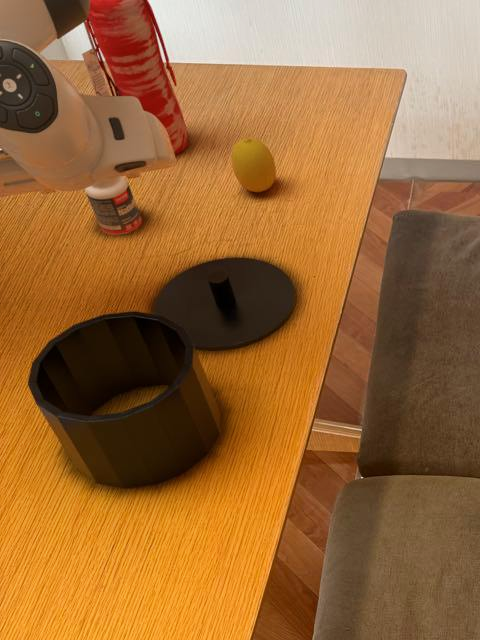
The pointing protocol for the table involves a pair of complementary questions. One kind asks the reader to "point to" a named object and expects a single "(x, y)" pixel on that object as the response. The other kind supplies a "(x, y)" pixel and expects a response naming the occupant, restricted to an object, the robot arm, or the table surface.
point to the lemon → (253, 165)
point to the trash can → (120, 377)
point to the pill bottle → (114, 205)
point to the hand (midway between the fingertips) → (90, 178)
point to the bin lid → (228, 302)
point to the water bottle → (133, 61)
